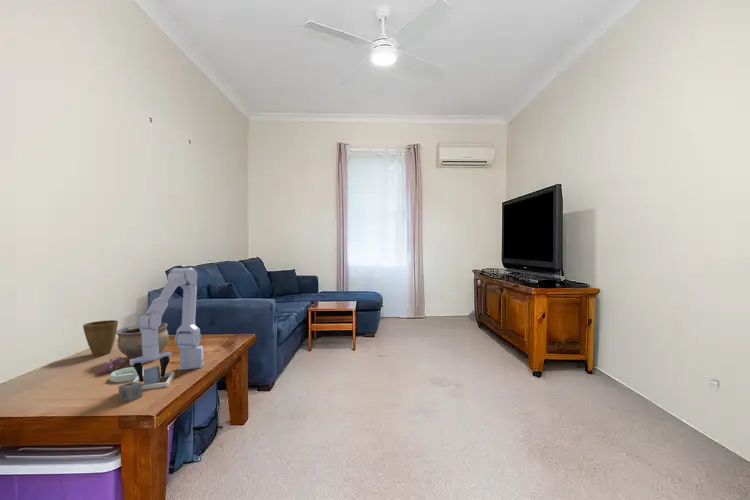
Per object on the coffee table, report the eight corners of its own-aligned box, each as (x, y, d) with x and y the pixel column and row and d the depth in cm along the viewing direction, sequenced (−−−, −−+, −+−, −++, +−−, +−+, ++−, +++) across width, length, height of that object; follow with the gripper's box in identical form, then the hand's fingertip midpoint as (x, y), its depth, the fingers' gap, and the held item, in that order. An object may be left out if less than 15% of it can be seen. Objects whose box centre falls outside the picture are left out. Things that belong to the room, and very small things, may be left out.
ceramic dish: (146, 371, 175) (146, 365, 175) (138, 379, 164) (138, 373, 164) (116, 374, 172) (116, 368, 172) (106, 383, 161) (106, 377, 161)
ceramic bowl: (178, 354, 201) (177, 324, 200) (133, 366, 182) (131, 333, 182) (154, 349, 212) (152, 320, 212) (109, 360, 194) (107, 329, 194)
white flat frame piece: (174, 375, 168) (174, 371, 168) (167, 386, 155) (167, 382, 155) (137, 379, 164) (137, 376, 164) (127, 391, 151) (127, 387, 151)
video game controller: (104, 378, 173) (109, 363, 172) (96, 373, 174) (101, 358, 173) (122, 370, 183) (128, 357, 182) (114, 365, 183) (120, 352, 183)
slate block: (160, 380, 162) (159, 365, 162) (157, 384, 158) (156, 369, 158) (147, 382, 161) (146, 367, 161) (144, 385, 157) (143, 370, 157)
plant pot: (107, 357, 200) (105, 325, 199) (77, 358, 200) (75, 326, 199) (125, 349, 215) (124, 319, 214) (98, 350, 215) (96, 320, 214)
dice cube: (132, 395, 148) (131, 381, 147) (142, 396, 146) (141, 383, 146) (119, 400, 143) (118, 386, 143) (129, 402, 141) (128, 387, 141)
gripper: (167, 339, 167) (168, 372, 168) (126, 347, 157) (128, 381, 158) (172, 342, 162) (174, 375, 162) (131, 350, 152) (133, 385, 152)
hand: (152, 378), depth 160 cm, fingers open, 7 cm apart
